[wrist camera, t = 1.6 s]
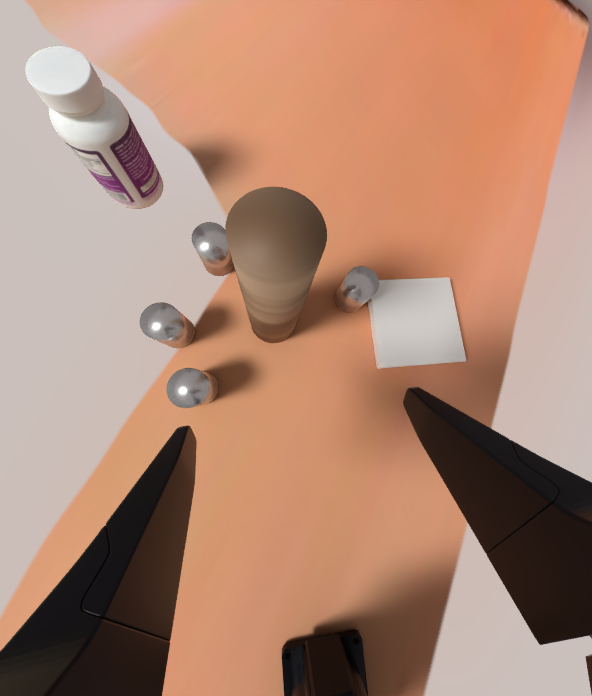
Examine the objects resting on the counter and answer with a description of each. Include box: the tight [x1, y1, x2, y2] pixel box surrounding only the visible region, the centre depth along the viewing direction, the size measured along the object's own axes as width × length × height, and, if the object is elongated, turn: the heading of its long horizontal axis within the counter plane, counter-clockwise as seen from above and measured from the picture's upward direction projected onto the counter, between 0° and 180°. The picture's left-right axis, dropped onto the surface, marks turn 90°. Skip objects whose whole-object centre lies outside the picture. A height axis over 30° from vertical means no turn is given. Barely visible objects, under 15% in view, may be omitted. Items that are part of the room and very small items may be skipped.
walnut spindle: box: [225, 187, 327, 343], centre depth 18 cm, size 4×4×14 cm
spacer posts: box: [140, 222, 379, 408], centre depth 22 cm, size 16×20×4 cm
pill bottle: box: [25, 46, 163, 209], centre depth 21 cm, size 5×5×10 cm
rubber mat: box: [368, 278, 466, 369], centre depth 25 cm, size 9×9×1 cm
